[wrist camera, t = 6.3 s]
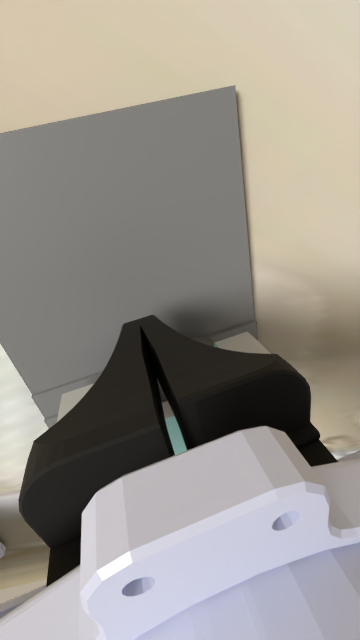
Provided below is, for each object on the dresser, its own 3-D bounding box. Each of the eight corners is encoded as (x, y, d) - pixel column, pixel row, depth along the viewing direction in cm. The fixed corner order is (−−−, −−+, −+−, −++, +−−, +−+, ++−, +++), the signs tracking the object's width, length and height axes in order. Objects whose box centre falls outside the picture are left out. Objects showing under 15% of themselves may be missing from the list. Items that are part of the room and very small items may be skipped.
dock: (110, 513, 20) (112, 548, 18) (-109, 157, 9) (-159, 153, 7) (263, 451, 22) (279, 478, 20) (230, 88, 11) (259, 70, 9)
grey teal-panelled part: (116, 480, 17) (121, 558, 14) (62, 370, 14) (47, 434, 10) (251, 428, 19) (289, 486, 15) (233, 313, 15) (279, 352, 11)
